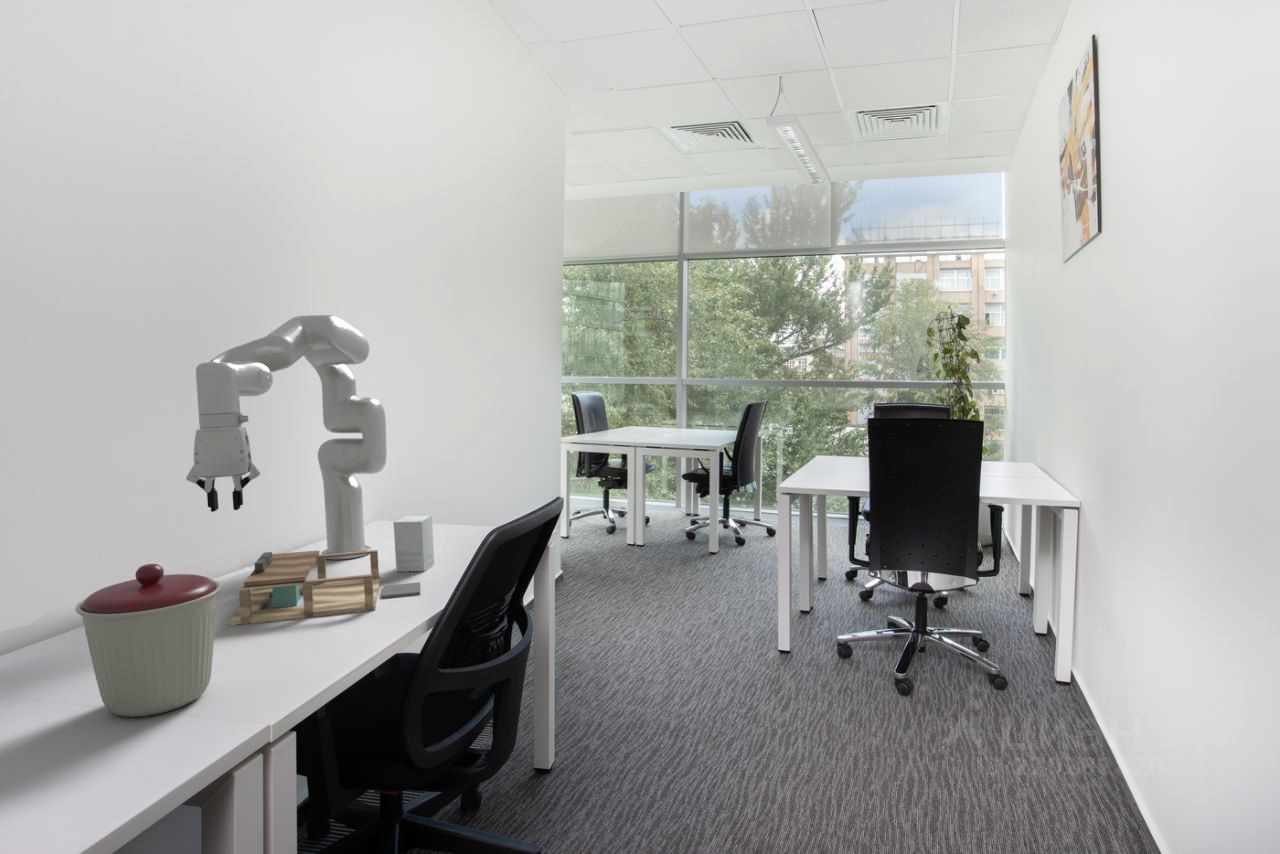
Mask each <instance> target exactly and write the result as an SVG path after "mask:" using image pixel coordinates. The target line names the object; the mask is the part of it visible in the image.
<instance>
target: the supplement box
mask: <svg viewBox="0 0 1280 854" xmlns="http://www.w3.org/2000/svg"><path fill="white" fill-rule="evenodd" d="M393 535H394V537H393V538H394V551H395V552H394V553H395V563H396V564H395V567H396V572H397V573H398V572H401V573H402V572H405V573H407V572H409V571H411V572H414V571H415V572H416V571H417V572H426V571H427V570H428V569H430V568H432V567H433V566H434V565H435V553H434V533H433V516H432V515H424V516H423V515H415V516H414V515H412V516H411V515H409V516H407V515H405V516H403V517H401V518H399V519H397V520H396V521H395V520H394V521H393ZM433 564H434V565H433ZM432 565H433V566H432ZM429 567H430V568H429ZM425 570H426V571H425ZM417 572H416V573H417Z"/></svg>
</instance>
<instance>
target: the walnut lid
mask: <svg viewBox="0 0 1280 854" xmlns="http://www.w3.org/2000/svg"><path fill="white" fill-rule="evenodd" d="M318 555H320V550H308V551H298V552H285V553H284V552H283V553H273V552H272V551H266V552H263V553H261V556H260V557H259V558H258V559H256V561H255V562H254V570H253V571H251V573H250V575H249V576H248V577H247V578H246V579H245V581H244V582H243V586H253V585H264V584H274V583H285V582H296V581H305V580H307V578H308V575H309V574H310V573H311V570H312V568H313V567H314V565H315V563H316V562H317V557H318Z"/></svg>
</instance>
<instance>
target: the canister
mask: <svg viewBox="0 0 1280 854" xmlns="http://www.w3.org/2000/svg"><path fill="white" fill-rule="evenodd" d="M164 570H165V569H164V567H162V566H161V565H160V564H157V563H149V564H148V563H147V564H143V565H141V566H139V567H138V568H137V570H136V572H135V579H131V580H125V581H122V582H119V583H115V584H111V585H108V586H105V587H103V588H101V589H98V590H96V591H95V592H93V593H91V594H90V595H88V597H86V598H85V599H83V600H82V601H80V602H79V603H78V604H76V606H75V612H76V613H77V614H78V615H79V616H81V617H82V621H83V626H84V632H85V636H86V639H87V640H86V641H87V645H88V650H89V653H90V658H91V662H92V666H93V667H92V669H93V671H94V675H95V680H96V684H97V687H98V691H99V694H100V698H101V700H102V703H103V705H104V706H105V708H106V709H107V710H108V711H109V712H110V713H112V714H114V715H116V716H120V717H125V718H126V717H129V716H130V717H131V718H134V717H137V718H138V717H147V716H154V715H158V714H162V713H167V712H169V711H174V710H177V709H180V708H181V707H184V706H187V705H188V704H190V703H192V702H193V701H195V700H197V699H198V698H199V697H201V696H202V695H203V694H204V692H205V691H206V690H207V688H208V686H209V684H210V682H211V678H212V668H213V659H214V658H213V657H214V643H215V642H214V641H215V626H216V625H215V624H216V609H217V595H218V593H219V592H220V591H221V589H222V585H221V583H220V582H218V581H216V580H214V579H210V578H208V577H206V576H203V575H198V574H189V573H188V574H186V573H179V574H178V573H177V574H165V571H164ZM130 717H129V718H130Z"/></svg>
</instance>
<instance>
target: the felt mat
mask: <svg viewBox="0 0 1280 854" xmlns="http://www.w3.org/2000/svg"><path fill="white" fill-rule="evenodd" d="M420 595H421V581H420V582H408V583H399V584H398V583H397V584H389V585H388V584H387V585H383V587H382V593H381V599H389V598H388V597H391V598H399V597H400V596H401V597H407V596H408V597H409V596H420Z"/></svg>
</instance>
